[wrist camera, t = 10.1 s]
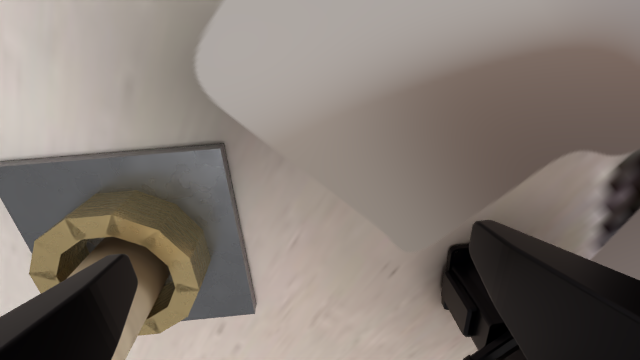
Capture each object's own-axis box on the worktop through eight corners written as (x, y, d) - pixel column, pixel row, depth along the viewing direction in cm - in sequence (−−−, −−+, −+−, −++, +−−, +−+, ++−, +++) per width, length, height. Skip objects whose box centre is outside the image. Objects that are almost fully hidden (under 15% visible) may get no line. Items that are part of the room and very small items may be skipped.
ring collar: (223, 143, 20) (207, 167, 17) (256, 303, 26) (249, 347, 23) (-2, 161, 20) (-69, 190, 16) (83, 320, 26) (49, 368, 22)
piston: (166, 220, 21) (86, 337, 13) (183, 275, 23) (123, 406, 15) (93, 226, 21) (-35, 349, 13) (117, 281, 23) (19, 417, 15)
